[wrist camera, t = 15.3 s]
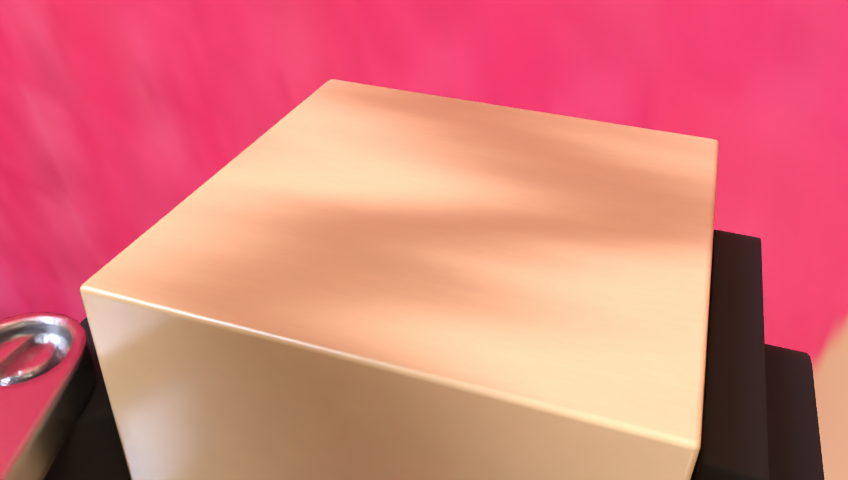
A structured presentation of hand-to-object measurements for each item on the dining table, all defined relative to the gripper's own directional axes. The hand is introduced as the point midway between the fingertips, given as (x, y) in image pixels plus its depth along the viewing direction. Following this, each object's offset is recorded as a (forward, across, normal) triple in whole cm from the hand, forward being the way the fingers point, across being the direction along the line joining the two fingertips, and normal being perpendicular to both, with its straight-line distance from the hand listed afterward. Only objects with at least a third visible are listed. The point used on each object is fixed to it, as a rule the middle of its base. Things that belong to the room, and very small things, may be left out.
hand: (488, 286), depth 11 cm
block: (0, 0, 0) cm, 0 cm away
